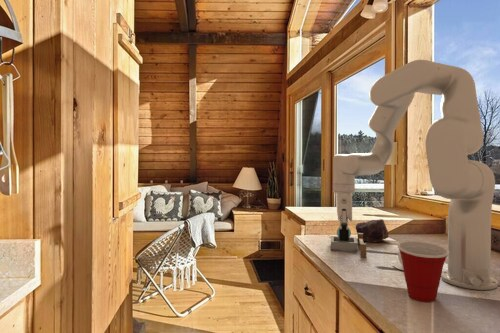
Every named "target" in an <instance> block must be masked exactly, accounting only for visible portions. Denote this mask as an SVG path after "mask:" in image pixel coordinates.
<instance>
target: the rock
mask: <svg viewBox="0 0 500 333" xmlns="http://www.w3.org/2000/svg"><path fill="white" fill-rule="evenodd" d="M355 230H356V233H357V234H356V235H357V236H358V233H363V242H364V241H365V242H367V243H373V244H375V243H378V242H382V241H384V240H386V239H388V238H389V231H388V229H387V226H386V223H385V220H384V219H382V218H380V219H372V220H369V221H365V222H364V221H363V222H359V223H356V225H355Z"/></svg>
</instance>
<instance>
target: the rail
mask: <svg viewBox="0 0 500 333" xmlns="http://www.w3.org/2000/svg"><path fill="white" fill-rule="evenodd" d="M357 243H358V246H357V247H358V248H359V255H360V256H359V257H360V258H361V259H367V243H366V242H365V243H364V241H363V233H358V235H357Z"/></svg>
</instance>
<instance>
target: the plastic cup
mask: <svg viewBox="0 0 500 333" xmlns="http://www.w3.org/2000/svg"><path fill="white" fill-rule="evenodd" d="M397 248H398V250H400V254H401V259H402V263H403V269H404V270H403V274H404V280H405V284H406V289H407V294H408V297H409V298H410V299H412V300H414V301H417V302H423V303H432V302H435V301H436V299H437V296H438V291H439V287H440V283H441V279H442V278H441V274H442V272H443V268H444V265H445V261H446V260H447V258H448V255H449V250H448V248H447V247H444V246H442V245H440V244H437V243H433V242H428V241H421V240H406V241H401V242H399V243H398V244H397Z"/></svg>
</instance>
